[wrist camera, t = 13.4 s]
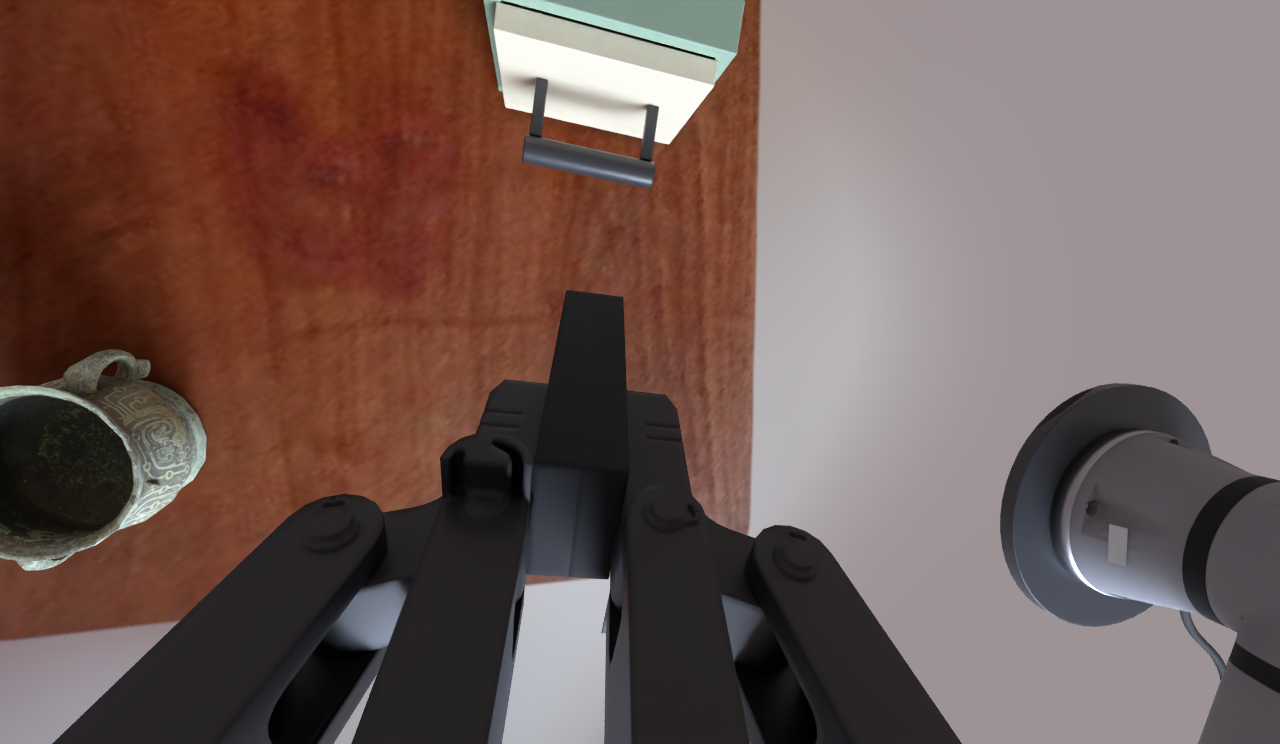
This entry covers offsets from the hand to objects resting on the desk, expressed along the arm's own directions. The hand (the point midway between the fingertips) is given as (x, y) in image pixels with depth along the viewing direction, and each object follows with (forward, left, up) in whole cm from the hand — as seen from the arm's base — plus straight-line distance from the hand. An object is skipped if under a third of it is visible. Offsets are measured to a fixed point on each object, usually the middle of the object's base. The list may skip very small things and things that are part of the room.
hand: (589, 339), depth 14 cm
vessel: (+7, +25, -21) cm, 33 cm away
